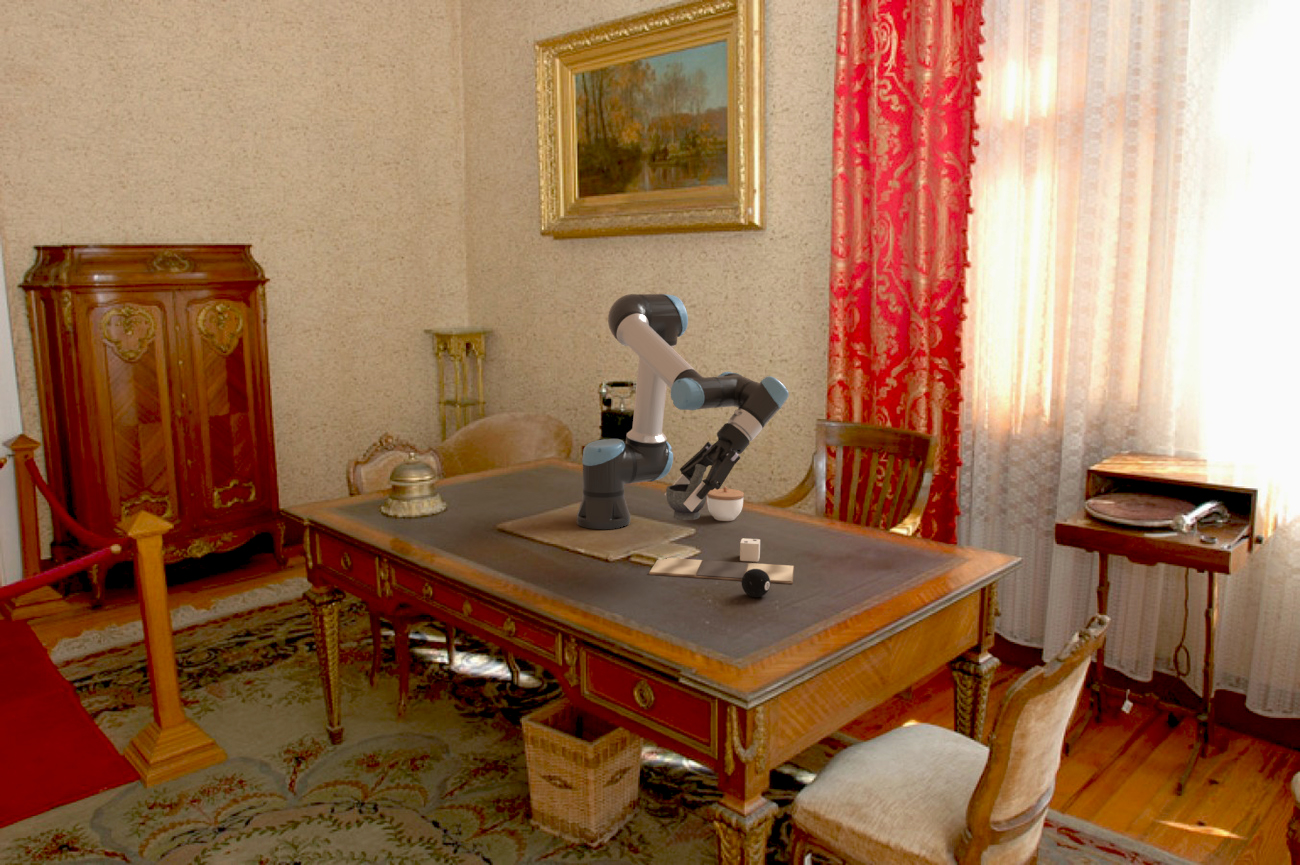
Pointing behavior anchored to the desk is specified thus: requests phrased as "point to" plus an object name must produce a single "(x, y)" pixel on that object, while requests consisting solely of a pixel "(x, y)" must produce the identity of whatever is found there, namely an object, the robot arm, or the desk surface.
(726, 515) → the lidded jar
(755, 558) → the cream white block
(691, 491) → the mortar and pestle
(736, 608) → the desk surface
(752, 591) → the billiard ball
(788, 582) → the board
